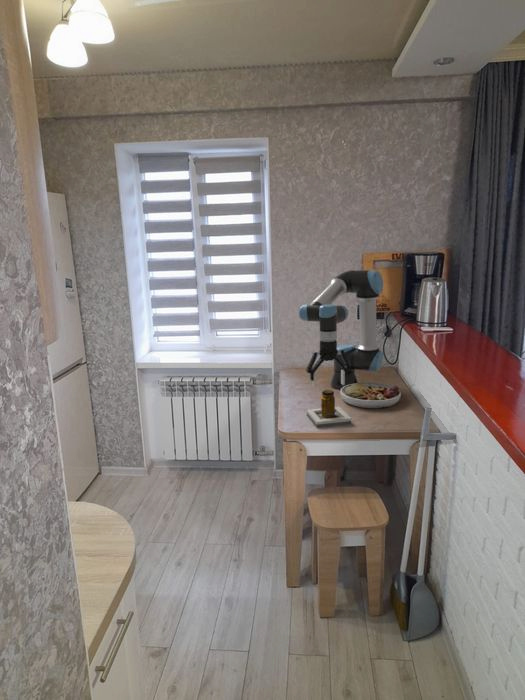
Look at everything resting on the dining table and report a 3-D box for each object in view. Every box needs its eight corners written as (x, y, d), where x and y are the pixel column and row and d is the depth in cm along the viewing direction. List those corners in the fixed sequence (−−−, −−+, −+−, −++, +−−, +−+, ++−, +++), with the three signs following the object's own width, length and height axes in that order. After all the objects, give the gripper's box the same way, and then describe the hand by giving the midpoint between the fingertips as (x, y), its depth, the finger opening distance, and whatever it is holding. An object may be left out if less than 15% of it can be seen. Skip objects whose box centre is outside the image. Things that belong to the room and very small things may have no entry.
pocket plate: (306, 415, 221) (306, 409, 221) (338, 411, 224) (338, 406, 224) (316, 427, 206) (316, 422, 205) (351, 424, 209) (351, 418, 208)
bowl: (341, 410, 227) (341, 394, 225) (339, 391, 256) (339, 377, 254) (405, 411, 223) (405, 395, 221) (395, 391, 252) (396, 377, 250)
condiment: (318, 414, 217) (318, 390, 215) (335, 412, 219) (335, 388, 217) (324, 420, 210) (324, 394, 208) (341, 417, 212) (341, 392, 210)
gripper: (303, 344, 201) (304, 390, 206) (358, 339, 205) (357, 385, 210) (298, 340, 208) (299, 385, 213) (351, 336, 212) (351, 380, 217)
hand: (328, 385), depth 212 cm, fingers open, 13 cm apart
